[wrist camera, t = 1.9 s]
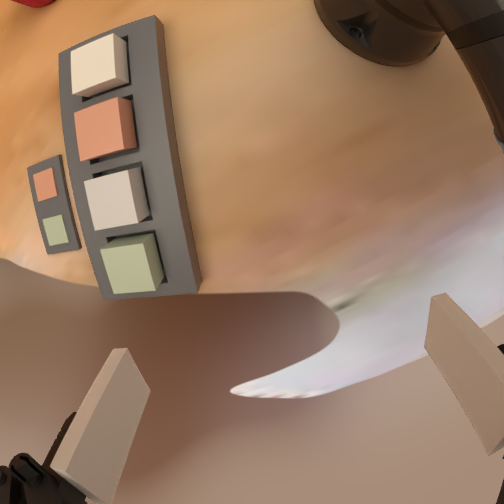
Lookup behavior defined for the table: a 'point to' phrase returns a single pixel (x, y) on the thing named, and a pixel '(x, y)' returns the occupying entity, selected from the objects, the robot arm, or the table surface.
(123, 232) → the keypad
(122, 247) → the key sage
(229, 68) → the table surface
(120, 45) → the key ivory
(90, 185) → the key beige
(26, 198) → the table surface
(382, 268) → the table surface
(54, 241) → the placard
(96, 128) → the key terracotta
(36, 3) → the wine bottle
